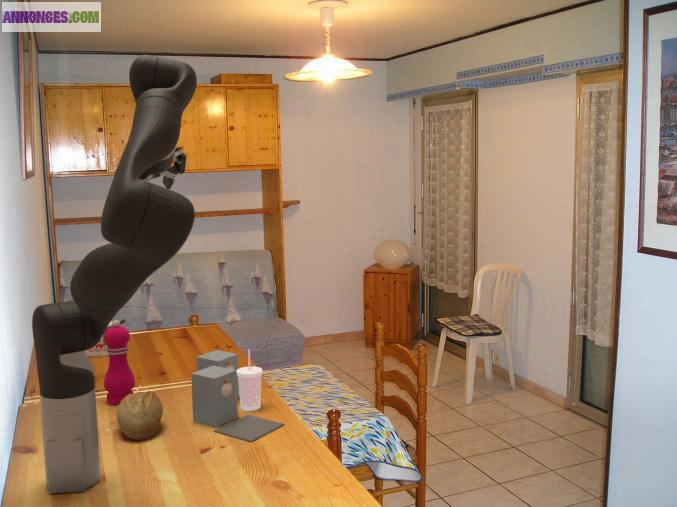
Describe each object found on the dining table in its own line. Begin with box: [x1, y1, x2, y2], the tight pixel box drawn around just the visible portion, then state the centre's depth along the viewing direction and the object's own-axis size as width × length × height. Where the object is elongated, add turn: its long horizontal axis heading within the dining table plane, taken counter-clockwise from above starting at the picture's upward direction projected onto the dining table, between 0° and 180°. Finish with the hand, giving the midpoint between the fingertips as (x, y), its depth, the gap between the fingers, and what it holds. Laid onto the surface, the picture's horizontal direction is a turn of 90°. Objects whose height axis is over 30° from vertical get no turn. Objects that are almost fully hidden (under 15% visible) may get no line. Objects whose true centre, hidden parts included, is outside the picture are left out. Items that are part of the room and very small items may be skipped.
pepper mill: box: [103, 319, 136, 406], centre depth 168 cm, size 7×7×20 cm
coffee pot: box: [60, 318, 129, 374], centre depth 184 cm, size 21×12×15 cm, turn 126°
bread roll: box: [116, 390, 164, 441], centre depth 151 cm, size 10×15×8 cm, turn 19°
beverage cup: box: [236, 348, 264, 412], centre depth 162 cm, size 6×6×14 cm
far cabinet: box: [196, 349, 240, 400], centre depth 168 cm, size 8×7×11 cm
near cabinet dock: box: [190, 365, 285, 443], centre depth 152 cm, size 19×11×11 cm, turn 56°
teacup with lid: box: [85, 320, 113, 358], centre depth 210 cm, size 12×9×12 cm
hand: (147, 193), depth 140 cm, fingers open, 8 cm apart
